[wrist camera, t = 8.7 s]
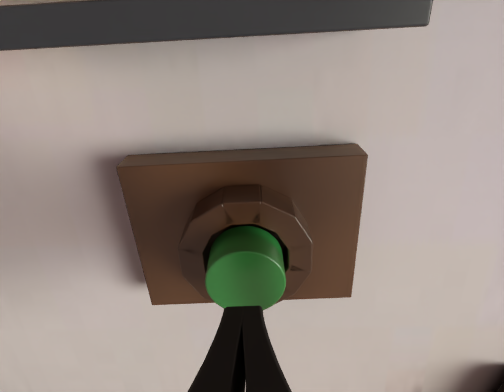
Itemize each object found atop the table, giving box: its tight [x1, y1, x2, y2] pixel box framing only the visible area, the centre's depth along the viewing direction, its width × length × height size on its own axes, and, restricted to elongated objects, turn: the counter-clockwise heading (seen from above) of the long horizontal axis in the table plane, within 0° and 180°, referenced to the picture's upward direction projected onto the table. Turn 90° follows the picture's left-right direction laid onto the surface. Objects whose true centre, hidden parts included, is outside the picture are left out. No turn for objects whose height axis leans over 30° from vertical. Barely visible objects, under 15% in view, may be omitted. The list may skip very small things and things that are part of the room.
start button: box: [205, 226, 286, 310], centre depth 15 cm, size 4×4×2 cm
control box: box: [116, 144, 368, 305], centre depth 17 cm, size 12×9×4 cm
